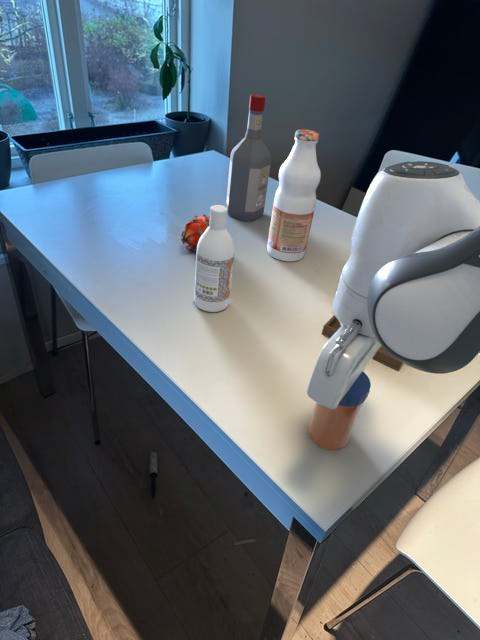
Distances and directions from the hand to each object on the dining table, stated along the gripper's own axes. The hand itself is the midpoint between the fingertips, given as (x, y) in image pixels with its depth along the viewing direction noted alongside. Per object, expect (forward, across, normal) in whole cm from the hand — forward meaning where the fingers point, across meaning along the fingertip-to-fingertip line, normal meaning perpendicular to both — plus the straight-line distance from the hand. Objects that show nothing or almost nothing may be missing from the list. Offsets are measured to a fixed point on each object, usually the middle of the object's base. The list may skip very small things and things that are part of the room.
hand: (344, 387), depth 60 cm
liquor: (+10, +54, +53) cm, 76 cm away
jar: (+10, 0, 0) cm, 10 cm away
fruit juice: (+10, +43, +33) cm, 55 cm away
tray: (+10, +27, +4) cm, 29 cm away
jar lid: (-1, 0, 0) cm, 1 cm away
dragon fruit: (+10, +30, +49) cm, 58 cm away
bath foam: (+10, +14, +33) cm, 37 cm away
